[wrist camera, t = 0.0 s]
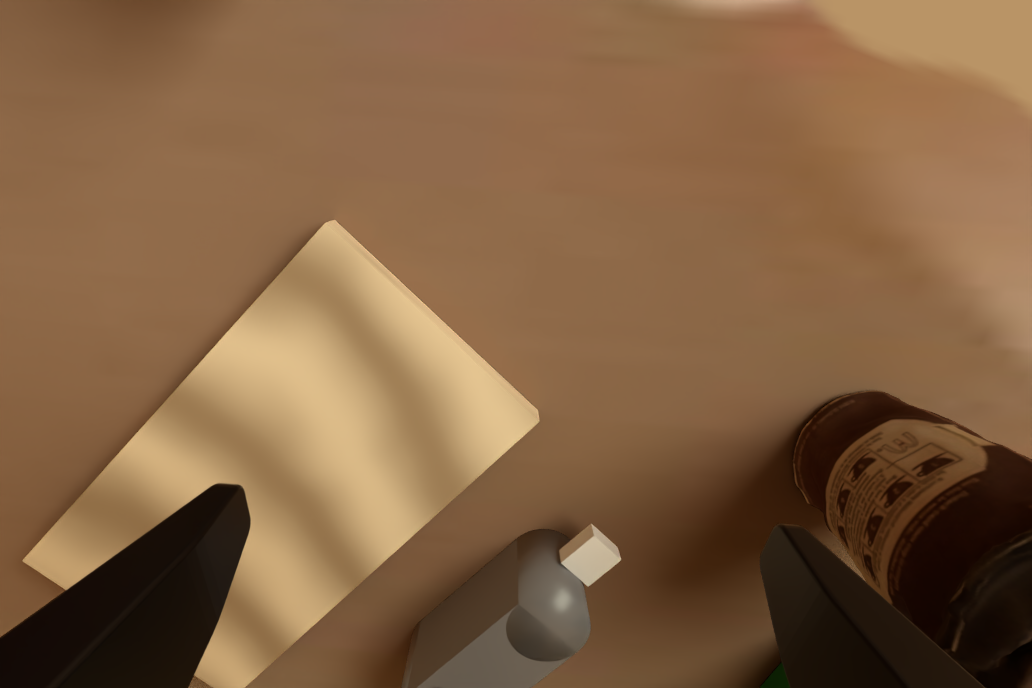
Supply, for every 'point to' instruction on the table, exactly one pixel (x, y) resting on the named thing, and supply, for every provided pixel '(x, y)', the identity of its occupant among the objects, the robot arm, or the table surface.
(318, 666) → the table surface
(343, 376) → the birch board
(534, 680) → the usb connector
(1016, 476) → the coffee cup
